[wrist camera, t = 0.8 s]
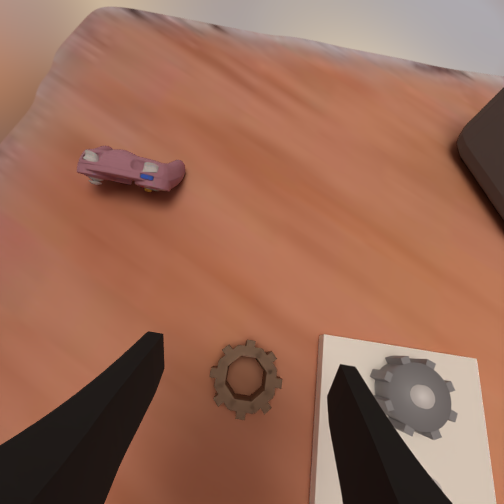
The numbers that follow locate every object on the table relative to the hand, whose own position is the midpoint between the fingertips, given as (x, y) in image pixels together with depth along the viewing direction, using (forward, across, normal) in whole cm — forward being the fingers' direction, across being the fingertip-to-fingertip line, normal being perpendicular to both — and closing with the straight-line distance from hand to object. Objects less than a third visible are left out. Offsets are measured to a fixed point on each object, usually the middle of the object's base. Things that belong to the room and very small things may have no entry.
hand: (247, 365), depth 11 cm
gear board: (+5, -14, +15) cm, 21 cm away
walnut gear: (+9, 0, +12) cm, 15 cm away
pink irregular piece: (+22, +15, 0) cm, 27 cm away
